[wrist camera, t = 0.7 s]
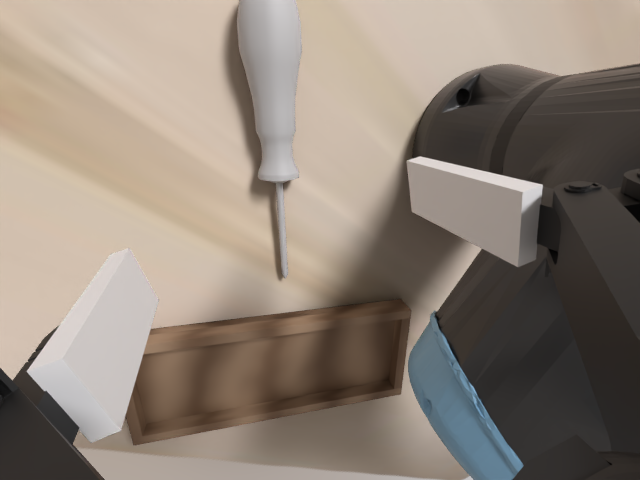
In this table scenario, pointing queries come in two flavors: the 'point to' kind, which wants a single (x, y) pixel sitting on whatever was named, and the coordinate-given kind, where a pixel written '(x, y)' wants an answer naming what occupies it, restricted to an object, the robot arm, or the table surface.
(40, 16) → the table surface
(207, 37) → the table surface
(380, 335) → the tool tray
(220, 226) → the table surface
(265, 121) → the screwdriver
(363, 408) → the table surface
